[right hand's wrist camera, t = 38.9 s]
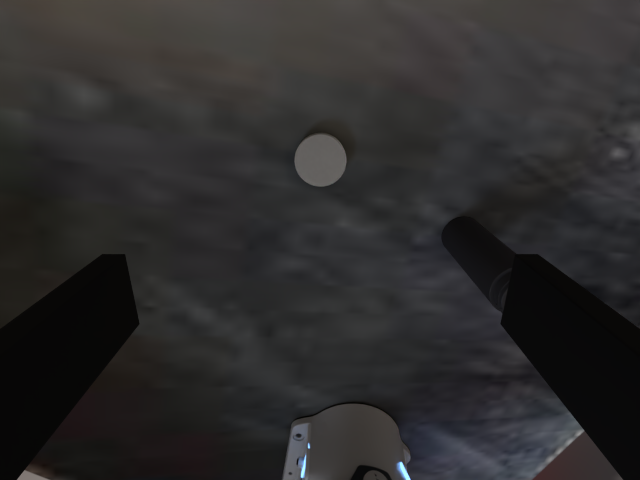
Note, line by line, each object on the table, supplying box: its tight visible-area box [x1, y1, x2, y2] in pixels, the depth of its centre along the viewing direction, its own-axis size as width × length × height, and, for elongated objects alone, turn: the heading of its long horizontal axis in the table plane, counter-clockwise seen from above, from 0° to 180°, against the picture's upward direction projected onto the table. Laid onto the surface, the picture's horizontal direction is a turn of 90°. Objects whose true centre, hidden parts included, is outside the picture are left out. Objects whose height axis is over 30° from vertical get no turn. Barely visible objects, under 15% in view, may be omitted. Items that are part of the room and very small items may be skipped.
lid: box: [295, 133, 346, 186], centre depth 40 cm, size 6×6×2 cm
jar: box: [442, 217, 516, 313], centre depth 37 cm, size 5×5×15 cm
